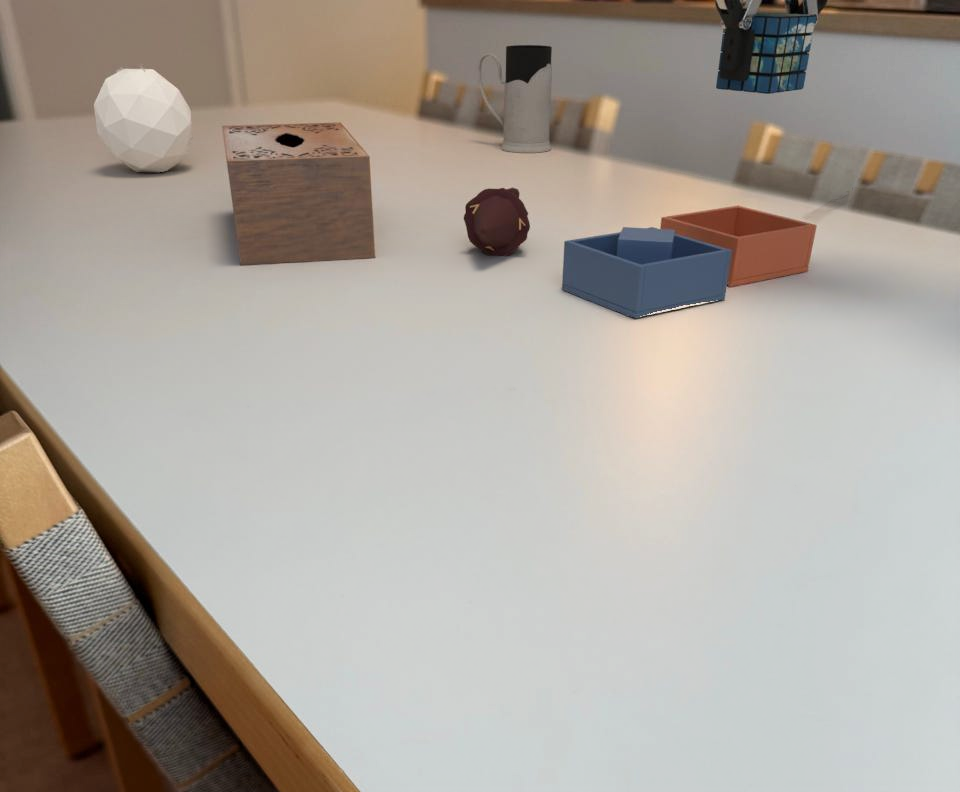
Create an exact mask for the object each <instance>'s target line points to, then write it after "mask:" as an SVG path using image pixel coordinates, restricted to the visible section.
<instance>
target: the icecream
mask: <svg viewBox="0 0 960 792" xmlns="http://www.w3.org/2000/svg"><path fill="white" fill-rule="evenodd" d="M463 221H464V224H465V228H466V233H467V238H468V240H469V242H470V243H471V244H472V245H473V246H475V247H476V248H478V249H479V250H480V251H482V252H483V253H484V254H486V255H487V256H504V257H505V256H510V255H512V254H513V253H515V251H516V250H517V249H518V248H519V247H521V245H522V244H524V243H525V241H527V240H528V234H529V231H530V229H531V225H530V224H531V223H530V220H529V212H528V210H527V208H526V206H525V204H524V202H523V201H522V200H521V198H520V190H519V189H518V188H515V187H510V188H505V187H501V188H485V189H483V190H481V191H479V193H477V194H476V196H474V197H473V198H472V199H470V200H469V201H468V202H467V203H466V204H465V213H464V215H463Z"/></svg>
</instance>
